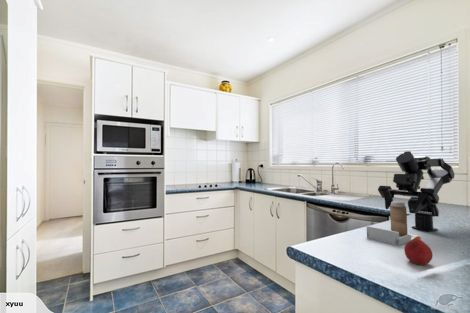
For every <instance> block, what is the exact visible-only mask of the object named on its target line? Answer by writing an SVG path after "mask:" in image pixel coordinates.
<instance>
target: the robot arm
mask: <svg viewBox="0 0 470 313" xmlns="http://www.w3.org/2000/svg"><path fill="white" fill-rule="evenodd" d="M395 161H396V163H397V165H398V167H399V168H400V170H401V172H404V173H394V174H393V179H392V183H395V187H396V188H397V189H396V188H395V189H393V188H392V187H391V185H379V186H378V188H377V192H378V193H379V195H380V196H381V198H383V199H384V206H385V210H389V209H390V206H391V202H394V197H395V196H403V197H410V198H409V199H408V200H407V207H408V211H409V214H414V225H413V226H411V228H412V229H415V230H421V231H425V232H432V231H434V232H435V231H438V230H439V229H438V228H436V227H434V218H435V217H439V214H440V210H439V209H438V206H437V204H439V202H440V196H439V191H440V190H441V188H443V185H445V184H450V183H451V182H452V180H453V179H455V171H454V170H453V167H452V166H451V165H450V164H448V163H447V162H445V160H444V158H441V157H429V156H427V155H426V156H414V155H413V154H412V152H411V151H410V150H409V151H403V153H400V154H399V155H398V156H396V157H395ZM434 167H435V168H434ZM438 167H440V168H438ZM424 171H426V172H427V175H428V176H429V181H428V182H427V183H426V184H425V185H424V187H421V186H420V185H421V182H422V180H424V179H425V176H424ZM418 190H419V191H418Z"/></svg>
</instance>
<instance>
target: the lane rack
mask: <svg viewBox="0 0 470 313" xmlns="http://www.w3.org/2000/svg"><path fill="white" fill-rule="evenodd" d="M416 236H417V234H416V235H414V234H411V233H408V235H405V236H402V237H400V236H399V232H396V231H391V229H386V228H382V227H377V226H372V225H366V238H368V239H373V240H376V241H380V242H384V243H388V244H392V245H395V246H400V245H402V244H405V243H407V242H409V241H410V240H412V239H414V238H415V237H416Z"/></svg>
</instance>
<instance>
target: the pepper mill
mask: <svg viewBox="0 0 470 313" xmlns="http://www.w3.org/2000/svg"><path fill="white" fill-rule="evenodd" d="M405 203H406V202H403V201H392V202H391V205H390V207H389V213H390V214H389V215H390V216H389V217H390V230H391V231H396V232H399V236H400V237H402V236H405V235H408V234H409V233H408V216H407V214H408V212H407V206H406V204H405Z"/></svg>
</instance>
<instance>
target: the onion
mask: <svg viewBox="0 0 470 313" xmlns="http://www.w3.org/2000/svg"><path fill="white" fill-rule="evenodd" d="M421 239H422V237H421V236H420V235H416V237H415V238H414V239H412V240H410V241H408V242H405V243H406V244H405V245H404V246H403V251H404V255H405V256H406V258H407V259H408V260H409V262H411V263H412V264H416V265H418V266H424V265H427V264H429V263H430V262H431V261H432V259H433V257H434V255H433V251H432V248H431V247H430V246H429V245H428V244H427V243H426V242H424V241H423V240H421Z"/></svg>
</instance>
